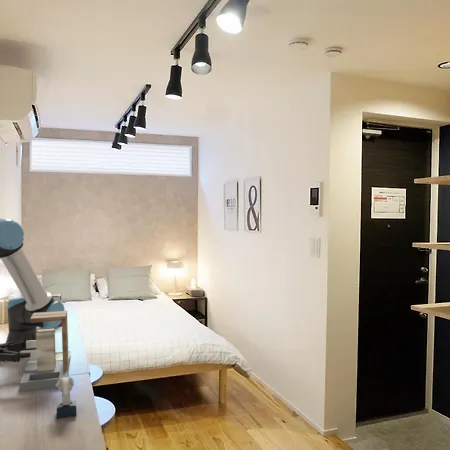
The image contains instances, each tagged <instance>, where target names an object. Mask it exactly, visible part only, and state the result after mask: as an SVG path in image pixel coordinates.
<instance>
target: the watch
mask: <svg viewBox="0 0 450 450" xmlns="http://www.w3.org/2000/svg"><path fill="white" fill-rule="evenodd" d="M74 385H75V380H74V378H72V377H71V376H68V377H63V378H61V379H59V380H58V382H57V384H56V387H58V388H57V389H58V391H59V392H60V393H61V401H60V402H56V419H57V420H59V419H64V418H70V417H71V416H72V417H76V416H77V400H76V399H74V400H73V399H71V391H72V389H73V388H74Z"/></svg>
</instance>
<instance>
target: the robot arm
mask: <svg viewBox="0 0 450 450" xmlns="http://www.w3.org/2000/svg"><path fill="white" fill-rule="evenodd" d="M24 236H25V232H24V229H23V227H22V226H21V225H20V223H18V222H17V221H15V220H13V219H8V218H0V260H1V262H2V263H3V264H4V266H5V268H6V270H7V271H8V273H9V275H10V276H11V279H12V280H13V282H14V283H15V285H16V287H17V289H18V290H19V292H20V294H21V295H22V296H19V297H18V296H17V297H14V298H10V299H9V300H8V301H7V308H6V310H7V323H8V324H7V325H8V334H7V337H6V340H5V342H4V343H0V362H7V363H8V362H9V363H12V362H13V363H16V362H17V363H20V362H21V360H29V359H30V358H40V357H41V349H38V350H37V346H36V332H37V330H38V328H41V329H42V328H44V329H55V328H57V327H59V326H58V325H59V324H60V323H61V321H62V320H61V321H48V322H36V323H30V318H31V317H32V315H33V313H40V312H53V311H66V310H65V309H66V308H65V306H64V303H63V302H62V303H61V302H59V301H55V300H54V298H53V297H52V295H53V294H52V293H51V292H50V291H46V290H45V288H44V287H43V285H42V283H41V281H40V279H39V277H38V276H37V273H36V272H35V270H34V269H33V266H32V264H31V263H30V261H29V259H28V257H27V256H26V254H25V252H24V250H23V247H24V239H25V237H24Z"/></svg>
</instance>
